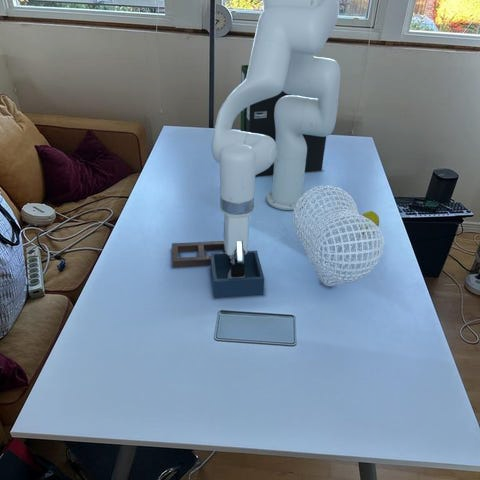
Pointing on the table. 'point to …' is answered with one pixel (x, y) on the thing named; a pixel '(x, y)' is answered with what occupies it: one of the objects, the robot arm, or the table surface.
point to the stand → (193, 247)
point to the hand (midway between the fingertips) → (236, 269)
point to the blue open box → (236, 286)
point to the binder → (263, 122)
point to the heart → (336, 236)
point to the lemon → (372, 217)
